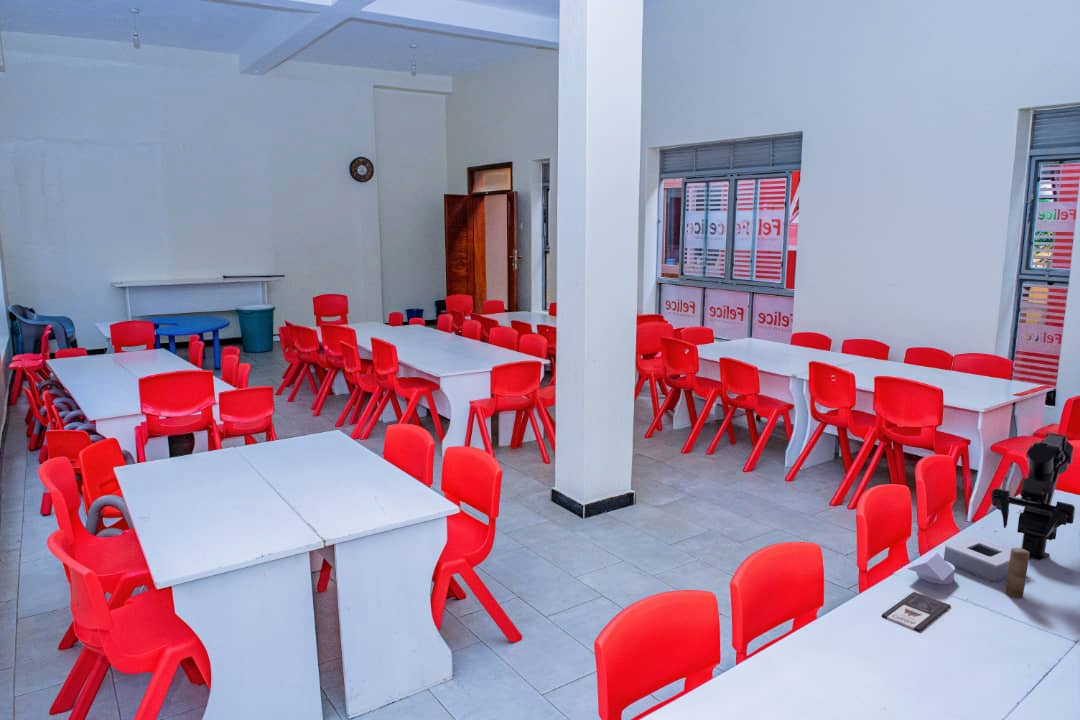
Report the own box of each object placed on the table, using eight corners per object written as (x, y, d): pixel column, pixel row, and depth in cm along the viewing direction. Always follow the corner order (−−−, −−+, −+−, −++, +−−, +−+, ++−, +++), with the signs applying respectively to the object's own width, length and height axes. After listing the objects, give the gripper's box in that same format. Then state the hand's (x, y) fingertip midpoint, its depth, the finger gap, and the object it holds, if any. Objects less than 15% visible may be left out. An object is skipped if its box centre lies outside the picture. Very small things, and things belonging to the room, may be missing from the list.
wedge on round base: (941, 592, 198) (958, 576, 207) (944, 568, 197) (961, 553, 206) (905, 580, 205) (923, 565, 213) (907, 556, 203) (926, 542, 212)
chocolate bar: (950, 605, 191) (919, 629, 179) (950, 608, 191) (919, 633, 179) (913, 591, 197) (881, 614, 186) (913, 595, 198) (881, 618, 186)
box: (971, 551, 223) (973, 535, 222) (1021, 571, 211) (1024, 554, 210) (943, 562, 215) (945, 545, 214) (994, 583, 204) (996, 565, 203)
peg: (1009, 589, 200) (1016, 546, 198) (1025, 596, 197) (1032, 552, 195) (1001, 593, 198) (1008, 549, 196) (1017, 600, 195) (1024, 556, 193)
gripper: (997, 459, 209) (982, 507, 203) (1080, 475, 197) (1067, 527, 191) (999, 481, 216) (985, 528, 210) (1079, 498, 204) (1066, 548, 198)
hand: (1024, 532), depth 202 cm, fingers open, 9 cm apart
